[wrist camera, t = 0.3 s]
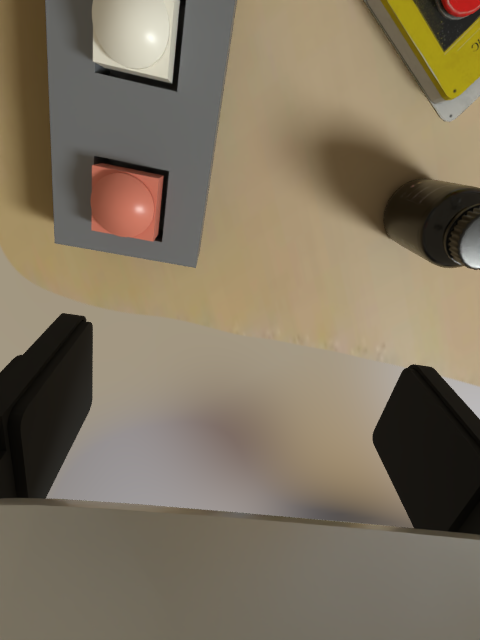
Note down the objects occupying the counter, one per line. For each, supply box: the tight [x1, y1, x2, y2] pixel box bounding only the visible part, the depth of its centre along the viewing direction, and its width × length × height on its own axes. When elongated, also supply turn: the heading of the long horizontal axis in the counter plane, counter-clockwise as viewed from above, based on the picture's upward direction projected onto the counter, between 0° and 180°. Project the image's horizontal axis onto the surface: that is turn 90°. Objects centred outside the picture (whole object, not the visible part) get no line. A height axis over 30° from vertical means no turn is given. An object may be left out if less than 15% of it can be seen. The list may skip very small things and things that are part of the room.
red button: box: [90, 163, 164, 241], centre depth 30 cm, size 5×5×3 cm
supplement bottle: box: [384, 179, 480, 270], centre depth 32 cm, size 7×7×12 cm
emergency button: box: [364, 0, 480, 121], centre depth 28 cm, size 9×4×15 cm
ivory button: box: [92, 0, 180, 83], centre depth 25 cm, size 5×5×3 cm
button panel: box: [45, 0, 237, 268], centre depth 31 cm, size 22×13×5 cm, turn 169°
